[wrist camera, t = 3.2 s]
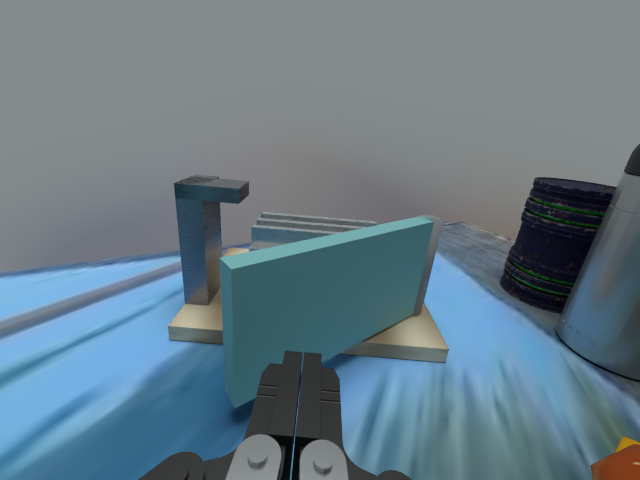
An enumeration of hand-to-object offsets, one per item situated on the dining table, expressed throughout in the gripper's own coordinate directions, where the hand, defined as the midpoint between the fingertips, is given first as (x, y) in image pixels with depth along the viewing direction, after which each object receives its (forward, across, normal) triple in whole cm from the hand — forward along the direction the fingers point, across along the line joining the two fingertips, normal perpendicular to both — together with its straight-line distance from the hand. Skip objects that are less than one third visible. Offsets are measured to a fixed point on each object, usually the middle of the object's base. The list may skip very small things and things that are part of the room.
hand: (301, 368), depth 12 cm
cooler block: (+22, +3, +8) cm, 23 cm away
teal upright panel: (+12, -4, +8) cm, 15 cm away
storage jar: (+27, -31, +10) cm, 43 cm away
